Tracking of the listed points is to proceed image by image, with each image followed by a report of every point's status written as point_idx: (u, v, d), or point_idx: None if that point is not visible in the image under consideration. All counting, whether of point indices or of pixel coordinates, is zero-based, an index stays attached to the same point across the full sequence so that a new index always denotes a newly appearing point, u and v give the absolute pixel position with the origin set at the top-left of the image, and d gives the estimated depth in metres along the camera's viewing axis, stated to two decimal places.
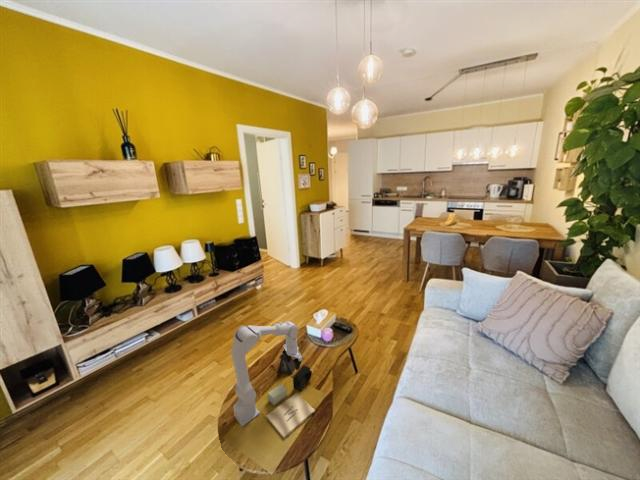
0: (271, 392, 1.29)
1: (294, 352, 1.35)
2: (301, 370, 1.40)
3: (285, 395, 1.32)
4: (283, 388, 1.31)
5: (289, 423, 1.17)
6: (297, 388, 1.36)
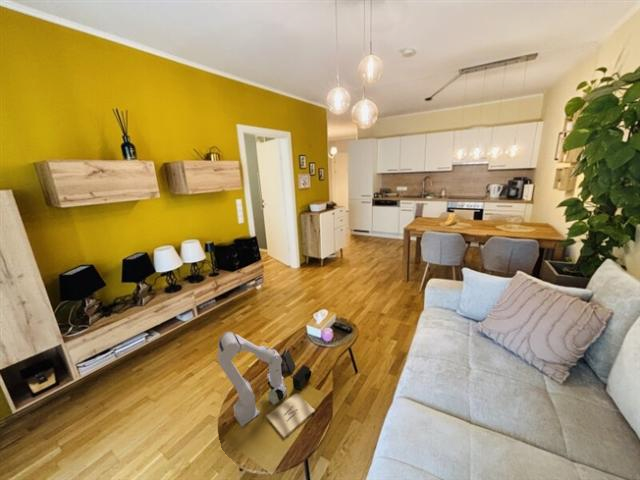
0: (271, 392, 1.29)
1: (278, 383, 1.26)
2: (301, 370, 1.40)
3: (285, 395, 1.32)
4: None
5: (289, 423, 1.17)
6: (297, 388, 1.36)
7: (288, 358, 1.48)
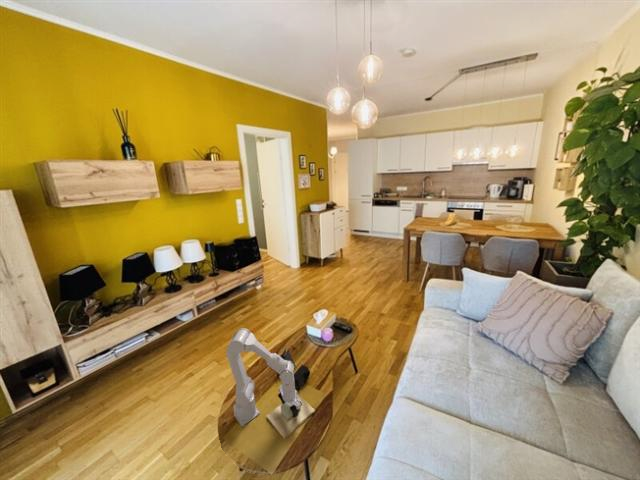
0: (284, 405, 1.20)
1: (291, 398, 1.17)
2: (299, 370, 1.40)
3: None
4: None
5: (289, 423, 1.17)
6: (295, 388, 1.36)
7: (288, 358, 1.48)
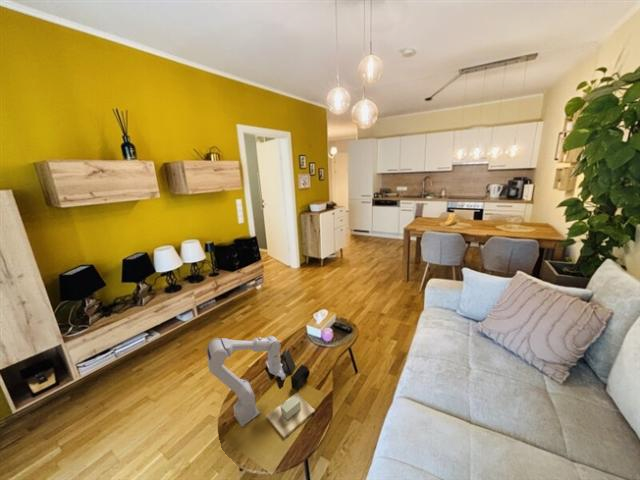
0: (284, 405, 1.20)
1: (277, 370, 1.24)
2: (299, 369, 1.41)
3: (299, 408, 1.22)
4: (297, 401, 1.22)
5: (289, 423, 1.17)
6: (295, 387, 1.36)
7: (288, 358, 1.48)
